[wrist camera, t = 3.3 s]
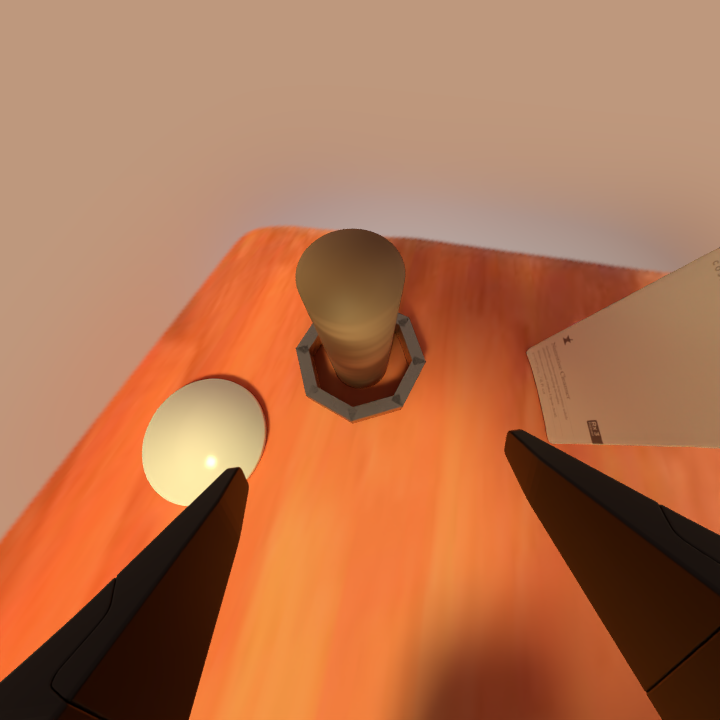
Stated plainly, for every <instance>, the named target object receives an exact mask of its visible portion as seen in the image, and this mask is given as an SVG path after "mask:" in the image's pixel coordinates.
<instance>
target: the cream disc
mask: <svg viewBox="0 0 720 720" xmlns="http://www.w3.org/2000/svg"><path fill="white" fill-rule="evenodd" d="M266 435H267V427H266V420H265V415H264V412H263V410H262V407H261V405H260V404H259V402H258V400H257V399H256V398H255V396H254V395H253V394H252V393H251V392H250V391H248V390H247V389H246V388H244V387H242V386H240V385H238V384H236V383H234V382H231V381H228V380H224V379H204V380H199V381H196V382H193V383H190V384H188V385H186V386H184V387H182V388H181V389H179V390H177V391H176V392H175V393H173V394H172V395H171V396H170V397H168V398H167V399H166V400H165V401H164V402H163V403H162V405H161V406H160V407H159V408H158V410H157V411H156V412H155V414H154V415H153V417H152V419H151V421H150V423H149V425H148V428H147V430H146V433H145V437H144V441H143V447H142V460H143V467H144V471H145V474H146V477H147V479H148V481H149V483H150V484H151V486H152V487H153V488H154V490H155V491H156V492H157V493H158V494H159V495H161V496H162V497H163V498H165V499H166V500H168V501H170V502H172V503H175V504H178V505H183V506H189V505H190V504H191V503H192V502H193V501H194V500H195V499H196V498H197V497H198V496H199V495H200V494H201V493H202V492H203V491H204V490H205V489H206V488H207V487H208V486H209V485H210V484H211V483H212V482H214V481H215V480H216V479H217V478H218V477H219V476H220V475H221V474H222V473H223V472H224V471H225V470H226V469H228V468H233V467H240V468H241V469H242V470H243V473H244V475H245V477H246V479H247V480H248V479H249V478H250V476H251V475H252V474H253V472H254V471H255V469H256V467H257V466H258V464H259V462H260V459H261V457H262V455H263V451H264V448H265V443H266Z"/></svg>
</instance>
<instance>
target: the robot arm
mask: <svg viewBox="0 0 720 720" xmlns="http://www.w3.org/2000/svg"><path fill="white" fill-rule="evenodd" d="M504 451H505V455H506V457H507V459H508V461H509V463H510V465H511V467H512V470H513V472H514V474H515V476H516V478H517V480H518V482H519V484H520V486H521V488H522V490H523V492H524V494H525V496H526V498H527V500H528V502H529V503H530V505H531V507H532V508H533V510H534V512H535V513H536V515H537V516H538V518H539V520H540V521H541V523H542V525H543V526H544V528H545V529H546V531H547V533H548V534H549V536H550V538H551V539H552V541H553V542H554V544H555V546H556V547H557V549H558V551H559V552H560V554H561V555H562V557H563V559H564V560H565V562H566V564H567V565H568V567H569V568H570V570H571V572H572V573H573V575H574V577H575V578H576V580H577V581H578V583H579V585H580V586H581V588H582V590H583V591H584V593H585V594H586V596H587V598H588V599H589V601H590V603H591V604H592V606H593V608H594V609H595V611H596V612H597V614H598V616H599V617H600V619H601V621H602V622H603V624H604V625H605V627H606V629H607V630H608V632H609V634H610V635H611V637H612V638H613V640H614V642H615V643H616V645H617V647H618V648H619V650H620V651H621V653H622V655H623V656H624V658H625V660H626V661H627V663H628V664H629V666H630V668H631V669H632V671H633V673H634V674H635V676H636V677H637V679H638V681H639V682H640V684H641V686H642V687H643V689H644V690H645V691H646V692H647V696H648V697H649V699H650V701H651V702H652V704H653V706H654V707H655V709H656V710H657V712H658V714H659V715H660V717H661V719H662V720H720V535H718V534H716V533H714V532H712V531H710V530H709V529H707V528H705V527H703V526H701V525H699V524H697V523H695V522H693V521H691V520H689V519H687V518H686V517H684V516H682V515H680V514H678V513H676V512H674V511H672V510H671V509H669V508H667V507H665V506H663V505H659V504H658V503H657V502H656V501H654V500H652V499H650V498H648V497H646V496H644V495H643V494H641V493H639V492H637V491H635V490H633V489H631V488H629V487H628V486H626V485H624V484H622V483H620V482H618V481H616V480H615V479H613V478H611V477H609V476H607V475H605V474H603V473H602V472H600V471H598V470H596V469H594V468H592V467H590V466H589V465H587V464H585V463H583V462H581V461H579V460H577V459H576V458H574V457H572V456H570V455H568V454H566V453H564V452H563V451H561V450H559V449H557V448H555V447H553V446H551V445H550V444H548V443H546V442H544V441H542V440H540V439H538V438H537V437H535V436H533V435H531V434H529V433H527V432H525V431H523V430H520V429H518V430H511V431H508V433H507V436H506V442H505V448H504ZM248 490H249V485H248V482H247V479H246V477H245V475H244V473H243V470H242V469H241V468H240V467H233V468H228V469H226V470H225V471H224V472H223V473H222V474H221V475H220V476H219V477H218V478H217V479H216V480H215V481H214V482H212V483H211V484H210V485H209V486H208V487H207V488H206V489H205V490H204V491H203V492H202V493H201V494H200V495H199V496H198V497H197V498H196V499H195V500H194V501H193V502H192V503H191V504H190V505H189V506H188V507H187V508H186V509H185V510H184V511H183V512H182V513H181V514H180V515H179V516H177V517H176V518H175V519H174V520H173V521H172V522H171V523H170V524H169V525H168V526H167V527H166V528H165V529H164V530H163V531H162V532H161V533H160V534H159V535H158V536H157V537H156V538H155V539H154V540H153V541H152V542H151V543H150V544H149V545H148V546H147V547H146V548H145V549H144V550H142V551H141V552H140V553H139V554H138V555H137V556H136V557H135V558H134V559H133V560H132V561H131V562H130V563H129V564H128V565H127V566H126V567H125V568H124V569H123V570H122V571H121V572H120V573H119V574H118V575H117V577H116V578H114V579H113V580H111V581H110V582H109V583H108V584H107V585H106V586H105V587H104V588H103V589H102V590H101V591H100V592H99V593H98V594H97V595H96V596H95V597H94V598H93V599H92V600H91V601H90V602H89V603H88V604H86V605H85V606H84V607H83V608H82V609H81V610H80V611H79V612H78V613H77V614H76V615H75V616H74V617H73V618H72V619H71V620H69V621H68V622H67V623H66V624H65V625H64V626H63V627H62V628H61V629H60V630H58V631H57V632H56V633H55V634H54V635H53V636H52V637H51V638H50V639H48V640H47V641H46V642H45V643H44V644H43V645H42V646H41V647H40V648H38V649H37V650H36V651H35V652H34V653H33V654H32V655H31V656H29V657H28V658H27V659H26V660H25V661H24V662H23V663H21V664H20V665H19V666H18V667H17V668H16V669H15V670H14V671H12V672H11V673H10V674H9V675H8V676H7V677H6V678H5V679H3V680H2V681H1V682H0V720H189V717H190V714H191V710H192V707H193V703H194V699H195V696H196V692H197V689H198V685H199V682H200V678H201V675H202V671H203V668H204V664H205V660H206V657H207V653H208V650H209V646H210V643H211V639H212V636H213V632H214V629H215V625H216V621H217V618H218V614H219V611H220V607H221V604H222V600H223V597H224V593H225V590H226V586H227V583H228V579H229V575H230V572H231V568H232V565H233V561H234V558H235V554H236V551H237V547H238V543H239V539H240V535H241V530H242V524H243V518H244V513H245V507H246V502H247V496H248Z"/></svg>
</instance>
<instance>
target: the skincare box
mask: <svg viewBox="0 0 720 720" xmlns="http://www.w3.org/2000/svg"><path fill="white" fill-rule="evenodd" d="M526 354H527V357H528V359H529V362H530V364H531V368H532V371H533V375H534V379H535V382H536V386H537V390H538V394H539V398H540V403H541V407H542V412H543V416H544V421H545V426H546V433H547V437H548V440H549V442H550V443H553V444H594V445H633V446H666V447H701V448H720V247H719V248H718V249H716V250H714V251H712V252H710V253H708V254H706V255H704V256H702V257H700V258H698V259H696V260H694V261H693V262H691V263H689V264H687V265H685V266H684V267H682V268H679V269H678V270H676V271H674V272H672V273H670V274H668V275H666V276H664V277H662V278H660V279H658V280H657V281H655V282H653V283H651V284H649V285H647V286H645V287H644V288H642V289H640V290H638V291H636V292H634V293H632V294H630V295H628V296H627V297H625V298H623V299H621V300H619V301H617V302H615V303H613V304H611V305H609V306H608V307H606V308H604V309H602V310H600V311H598V312H597V313H595V314H593V315H591V316H589V317H587V318H585V319H583V320H582V321H580V322H578V323H576V324H574V325H572V326H570V327H568V328H566V329H564V330H562V331H561V332H559V333H557V334H555V335H553V336H551V337H549V338H547V339H545V340H544V341H542V342H540V343H538V344H536V345H534V346H533V347H531V348H529V349H528V351H527V352H526Z"/></svg>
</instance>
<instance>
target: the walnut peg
mask: <svg viewBox="0 0 720 720" xmlns="http://www.w3.org/2000/svg"><path fill="white" fill-rule="evenodd" d="M404 281H405V266H404V262H403V259H402V257H401V255H400V253H399V252H398V250H397V249H396V247H395V246H394V245H393V244H392V243H391V242H389V241H388V240H387V239H386V238H384V237H382V236H381V235H378V234H376V233H374V232H371V231H367V230H362V229H343V230H338V231H334V232H331V233H328V234H326V235H324V236H322V237H320V238H318V239H317V240H316V241H314V242H313V243H312V244H311V245H310V246H309V247H308V248H307V249H306V250H305V251H304V253H303V254H302V256H301V258H300V260H299V262H298V265H297V269H296V285H297V289H298V292H299V294H300V296H301V299H302V301H303V303H304V305H305V307H306V309H307V312H308V314H309V316H310V318H311V320H312V322H313V325H314V327H315V329H316V331H317V333H318V335H319V337H320V340H321V342H322V344H323V346H324V348H325V350H326V353H327V355H328V357H329V359H330V361H331V363H332V366H333V368H334V370H335V372H336V374H337V376H338V377H339V379H340V380H341V381H342V382H343V383H344V384H346V385H348V386H350V387H353V388H360V389H362V388H368V387H371V386H373V385H375V384H376V383H378V382H379V381H380V380H381V379H382V377H383V376H384V374H385V372H386V369H387V364H388V359H389V354H390V350H391V345H392V340H393V335H394V330H395V325H396V320H397V315H398V311H399V306H400V301H401V296H402V291H403V286H404Z"/></svg>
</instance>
